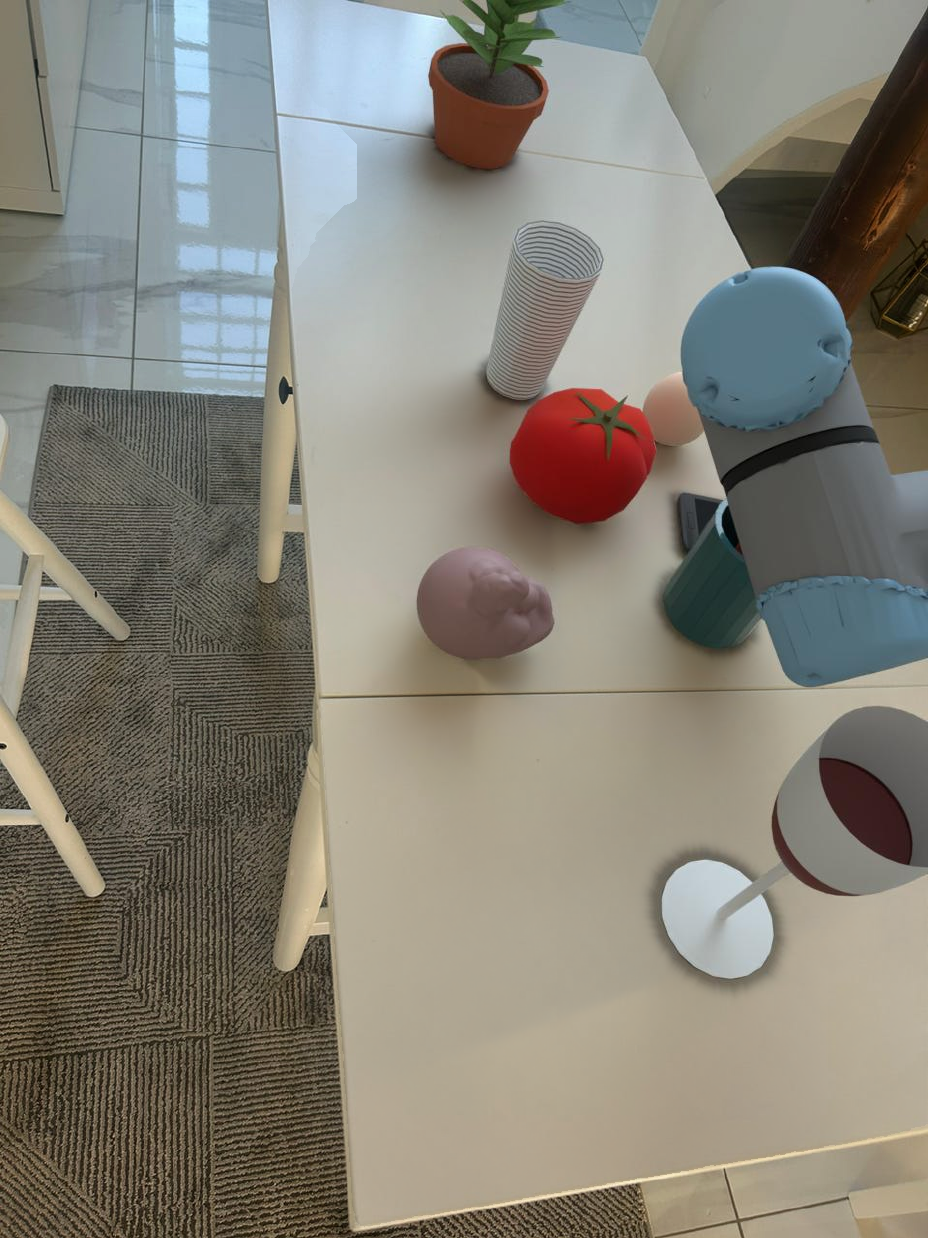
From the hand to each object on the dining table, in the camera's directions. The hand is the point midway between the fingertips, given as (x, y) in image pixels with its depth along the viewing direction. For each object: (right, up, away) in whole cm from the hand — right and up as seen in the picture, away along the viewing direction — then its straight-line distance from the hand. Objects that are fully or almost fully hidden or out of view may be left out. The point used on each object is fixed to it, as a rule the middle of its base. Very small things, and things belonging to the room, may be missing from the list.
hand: (799, 503), depth 80 cm
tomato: (-18, +2, +13) cm, 22 cm away
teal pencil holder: (-6, -9, +8) cm, 13 cm away
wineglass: (-9, -31, -9) cm, 34 cm away
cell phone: (0, -2, +14) cm, 14 cm away
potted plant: (-26, +50, +44) cm, 72 cm away
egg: (-7, +9, +20) cm, 23 cm away
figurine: (-27, -11, +1) cm, 29 cm away
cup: (-22, +15, +20) cm, 33 cm away
